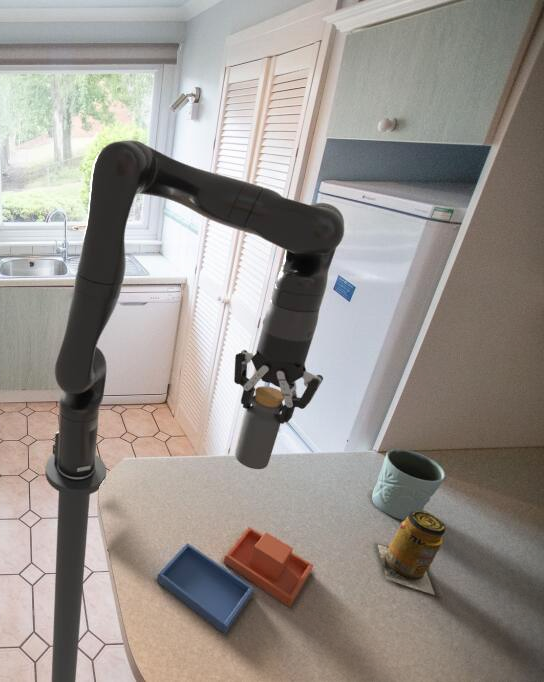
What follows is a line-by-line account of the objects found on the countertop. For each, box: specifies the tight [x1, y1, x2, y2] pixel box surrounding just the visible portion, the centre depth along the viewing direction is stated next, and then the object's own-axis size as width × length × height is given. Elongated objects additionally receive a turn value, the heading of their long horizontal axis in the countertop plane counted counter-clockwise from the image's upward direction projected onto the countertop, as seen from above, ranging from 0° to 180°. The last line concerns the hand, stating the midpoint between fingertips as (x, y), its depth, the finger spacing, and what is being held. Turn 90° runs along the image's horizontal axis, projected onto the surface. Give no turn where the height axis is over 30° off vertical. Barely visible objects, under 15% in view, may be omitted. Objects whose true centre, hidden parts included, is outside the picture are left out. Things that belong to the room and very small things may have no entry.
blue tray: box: [156, 542, 255, 635], centre depth 82 cm, size 13×10×2 cm
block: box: [249, 532, 294, 582], centre depth 85 cm, size 5×5×5 cm
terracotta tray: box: [223, 526, 314, 608], centre depth 86 cm, size 12×10×2 cm
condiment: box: [377, 510, 447, 596], centre depth 84 cm, size 7×8×12 cm
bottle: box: [235, 385, 284, 470], centre depth 83 cm, size 6×6×15 cm
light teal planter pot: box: [371, 448, 446, 521], centre depth 98 cm, size 10×10×12 cm
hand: (264, 413), depth 82 cm, fingers closed on bottle, 5 cm apart
